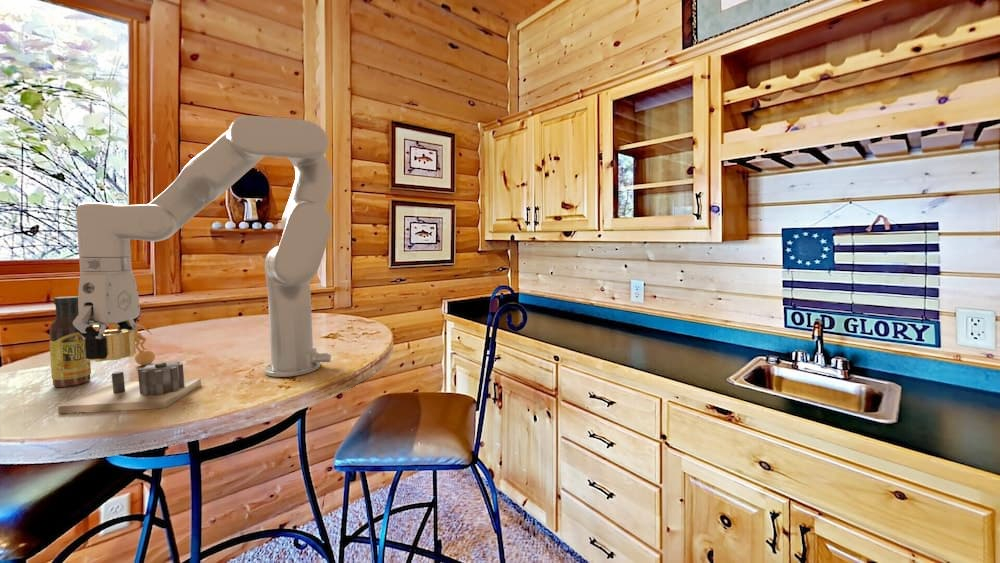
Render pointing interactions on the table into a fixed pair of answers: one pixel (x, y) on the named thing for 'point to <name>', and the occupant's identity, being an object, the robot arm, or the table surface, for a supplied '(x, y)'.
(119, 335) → the cream toothed wheel
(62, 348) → the sauce bottle
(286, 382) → the table surface
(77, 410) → the gear board
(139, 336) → the figurine
